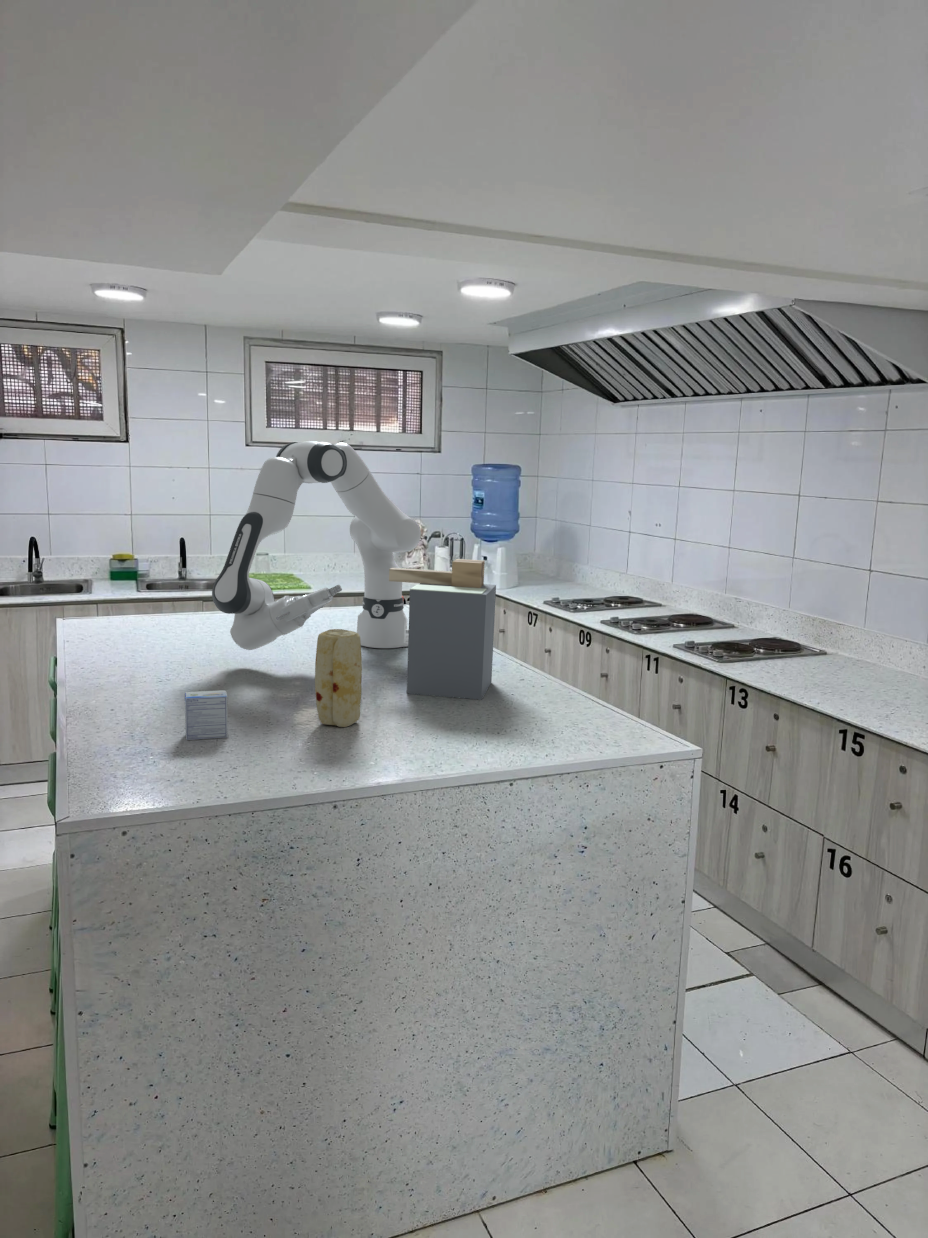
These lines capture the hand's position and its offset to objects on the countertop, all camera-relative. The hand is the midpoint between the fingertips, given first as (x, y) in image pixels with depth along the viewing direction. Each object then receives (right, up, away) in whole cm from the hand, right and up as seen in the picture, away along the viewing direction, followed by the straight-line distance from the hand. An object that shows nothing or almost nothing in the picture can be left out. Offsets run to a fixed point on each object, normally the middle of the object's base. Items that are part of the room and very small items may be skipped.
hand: (334, 589), depth 222 cm
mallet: (+26, +1, -5) cm, 27 cm away
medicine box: (-18, -30, -49) cm, 61 cm away
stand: (+29, -24, -6) cm, 38 cm away
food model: (+6, -29, -38) cm, 49 cm away
